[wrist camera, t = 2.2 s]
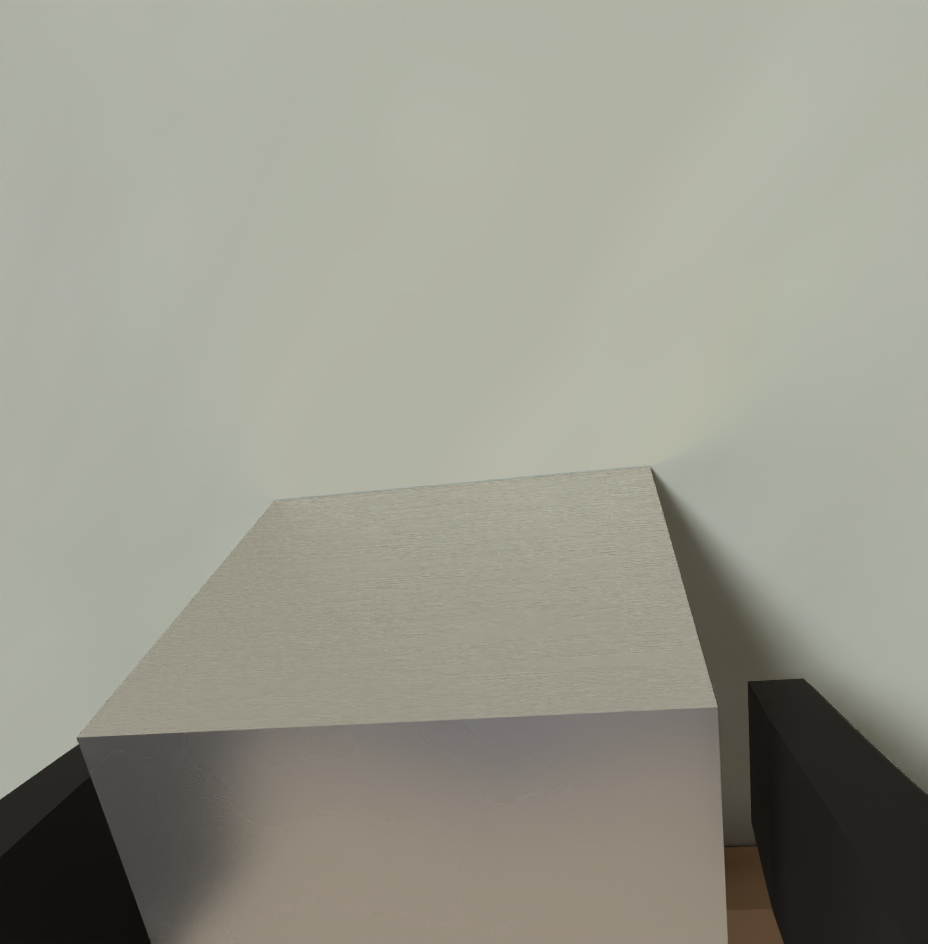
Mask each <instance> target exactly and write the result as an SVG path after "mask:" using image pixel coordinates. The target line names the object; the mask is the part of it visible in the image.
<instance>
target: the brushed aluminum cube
mask: <svg viewBox="0 0 928 944" xmlns="http://www.w3.org/2000/svg"><path fill="white" fill-rule="evenodd" d="M77 740H78V743H79V746H80V748H81V751H82V754H83V757H84V759H85V762H86V765H87V768H88V770H89V773H90V776H91V779H92V781H93V784H94V787H95V790H96V792H97V795H98V798H99V801H100V803H101V806H102V809H103V812H104V814H105V817H106V820H107V823H108V825H109V828H110V831H111V834H112V836H113V839H114V842H115V845H116V848H117V850H118V853H119V856H120V859H121V861H122V864H123V867H124V870H125V872H126V875H127V878H128V881H129V883H130V886H131V889H132V892H133V894H134V897H135V900H136V903H137V905H138V908H139V911H140V914H141V916H142V919H143V922H144V925H145V927H146V930H147V933H148V936H149V938H150V941H151V944H728V934H727V911H726V887H725V864H724V840H723V817H722V793H721V770H720V746H719V723H718V706H717V702H716V699H715V695H714V692H713V688H712V685H711V681H710V678H709V674H708V670H707V667H706V663H705V660H704V656H703V653H702V649H701V646H700V642H699V639H698V635H697V632H696V628H695V624H694V621H693V617H692V614H691V610H690V607H689V603H688V600H687V596H686V593H685V589H684V585H683V582H682V578H681V575H680V571H679V568H678V564H677V561H676V557H675V554H674V550H673V546H672V543H671V539H670V536H669V532H668V529H667V525H666V522H665V518H664V515H663V511H662V507H661V504H660V500H659V497H658V493H657V490H656V486H655V483H654V479H653V476H652V472H651V469H650V467H640V468H629V469H618V470H607V471H596V472H586V473H575V474H564V475H553V476H542V477H531V478H520V479H509V480H498V481H487V482H476V483H465V484H454V485H443V486H432V487H421V488H411V489H400V490H389V491H378V492H367V493H356V494H345V495H334V496H323V497H312V498H301V499H290V500H279V501H274V502H273V503H272V504H271V505H270V506H269V508H268V509H267V510H266V511H265V512H264V514H263V515H262V516H261V517H260V518H259V520H258V521H257V522H256V523H255V524H254V526H253V527H252V528H251V529H250V530H249V532H248V533H247V534H246V535H245V536H244V538H243V539H242V540H241V541H240V542H239V544H238V545H237V546H236V547H235V548H234V550H233V551H232V552H231V553H230V554H229V556H228V557H227V558H226V559H225V560H224V562H223V563H222V564H221V565H220V566H219V568H218V569H217V570H216V571H215V572H214V574H213V575H212V576H211V577H210V578H209V580H208V581H207V582H206V583H205V584H204V585H203V587H202V588H201V589H200V590H199V591H198V593H197V594H196V595H195V596H194V597H193V599H192V600H191V601H190V602H189V603H188V605H187V606H186V607H185V608H184V609H183V611H182V612H181V613H180V614H179V615H178V617H177V618H176V619H175V620H174V621H173V623H172V624H171V625H170V626H169V627H168V629H167V630H166V631H165V632H164V633H163V635H162V636H161V637H160V638H159V639H158V641H157V642H156V643H155V644H154V645H153V647H152V648H151V649H150V650H149V651H148V653H147V654H146V655H145V656H144V657H143V659H142V660H141V661H140V662H139V663H138V665H137V666H136V667H135V668H134V669H133V671H132V672H131V673H130V674H129V675H128V677H127V678H126V679H125V680H124V681H123V683H122V684H121V685H120V686H119V687H118V689H117V690H116V691H115V692H114V693H113V695H112V696H111V697H110V698H109V699H108V701H107V702H106V703H105V704H104V705H103V706H102V708H101V709H100V710H99V711H98V712H97V714H96V715H95V716H94V717H93V718H92V720H91V721H90V722H89V723H88V724H87V726H86V727H85V728H84V729H83V730H82V732H81V733H80V734H79V735H78V736H77Z"/></svg>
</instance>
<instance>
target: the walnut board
mask: <svg viewBox="0 0 928 944" xmlns="http://www.w3.org/2000/svg"><path fill="white" fill-rule="evenodd" d="M724 864H725V887H726V911H727V934H728V944H784V943H783V940H782V937H781V934H780V931H779V928H778V925H777V922H776V919H775V916H774V914H773V911H772V907H771V903H770V899H769V895H768V891H767V886H766V882H765V878H764V874H763V870H762V865H761V861H760V856H759V852H758V848H757V847H724Z"/></svg>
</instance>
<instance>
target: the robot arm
mask: <svg viewBox="0 0 928 944" xmlns="http://www.w3.org/2000/svg"><path fill="white" fill-rule="evenodd" d="M748 709H749V745H750V782H751V819H752V826H753V830H754V834H755V839H756V843H757V848H758V852H759V856H760V861H761V865H762V870H763V874H764V878H765V882H766V886H767V891H768V895H769V899H770V903H771V907H772V911H773V914H774V916H775V919H776V922H777V925H778V928H779V931H780V934H781V937H782V940H783V943H784V944H928V795H927V794H926V793H925V792H924V791H922V790H921V789H920V788H919V787H918V786H917V785H916V784H915V783H913V782H912V781H911V780H910V779H909V778H908V777H907V776H905V775H904V774H903V773H902V772H901V771H900V770H899V769H898V768H897V767H896V766H894V765H893V764H892V763H891V762H890V761H889V760H888V759H887V758H886V757H885V756H884V755H883V754H881V753H880V752H879V751H878V750H877V749H876V748H875V747H874V746H873V745H872V744H871V743H870V742H869V741H868V740H867V739H866V738H865V737H864V736H863V735H861V734H860V733H859V732H858V731H857V730H856V729H855V728H854V727H853V726H852V725H851V724H850V723H849V722H848V721H847V720H846V719H845V718H844V717H843V716H842V715H841V714H840V713H839V712H838V711H837V710H836V709H835V708H834V707H833V706H832V705H831V704H830V703H829V702H828V701H827V700H826V699H825V698H824V697H823V696H822V695H821V694H820V693H819V692H818V691H816V690H815V689H814V688H813V687H812V686H811V685H810V684H809V683H808V682H806V681H805V680H804V679H786V680H768V681H750V682H748ZM0 944H151V941H150V938H149V936H148V933H147V930H146V927H145V925H144V922H143V919H142V916H141V914H140V911H139V908H138V905H137V903H136V900H135V897H134V894H133V892H132V889H131V886H130V883H129V881H128V878H127V875H126V872H125V870H124V867H123V864H122V861H121V859H120V856H119V853H118V850H117V848H116V845H115V842H114V839H113V836H112V834H111V831H110V828H109V825H108V823H107V820H106V817H105V814H104V812H103V809H102V806H101V803H100V801H99V798H98V795H97V792H96V790H95V787H94V784H93V781H92V779H91V776H90V773H89V770H88V768H87V765H86V762H85V759H84V757H83V754H82V751H81V748H80V746H79V745H77V746H76V747H74V748H73V749H71V750H70V751H68V752H67V753H66V754H64V755H63V756H61V757H60V758H58V759H57V760H56V761H54V762H53V763H51V764H50V765H48V766H47V767H46V768H44V769H43V770H41V771H40V772H39V773H37V774H36V775H34V776H33V777H32V778H30V779H29V780H27V781H26V782H25V783H23V784H22V785H20V786H19V787H18V788H16V789H15V790H13V791H12V792H10V793H9V794H8V795H6V796H5V797H3V798H2V799H1V800H0Z"/></svg>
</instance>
